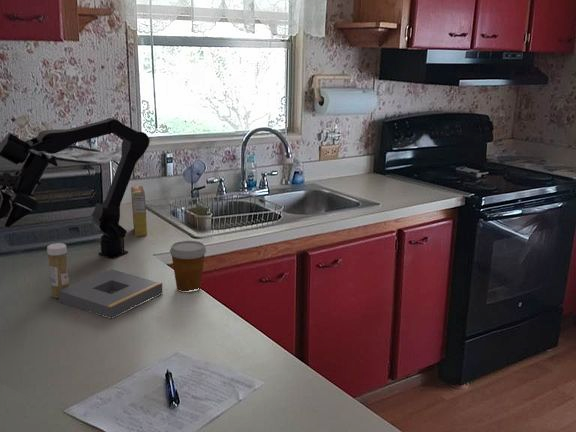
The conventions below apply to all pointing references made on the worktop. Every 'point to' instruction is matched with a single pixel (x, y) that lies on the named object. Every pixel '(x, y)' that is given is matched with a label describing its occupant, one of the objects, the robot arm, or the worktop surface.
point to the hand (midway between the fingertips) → (2, 222)
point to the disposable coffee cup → (188, 264)
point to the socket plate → (98, 299)
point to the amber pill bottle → (58, 267)
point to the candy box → (139, 210)
